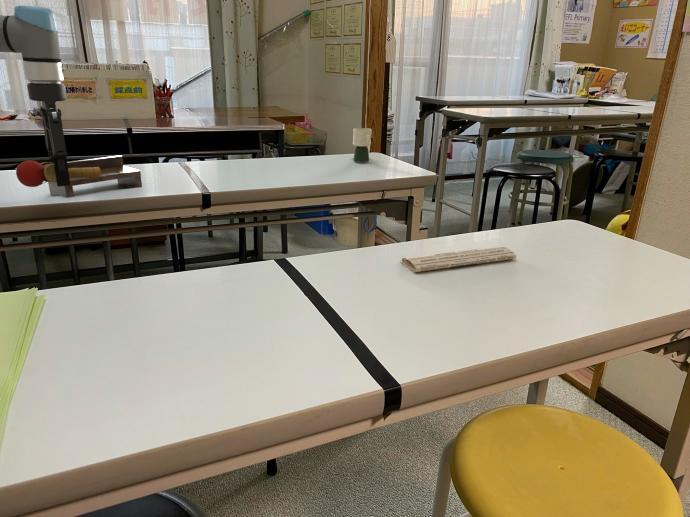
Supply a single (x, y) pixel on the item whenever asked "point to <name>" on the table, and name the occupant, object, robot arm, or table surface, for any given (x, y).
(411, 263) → the newspaper
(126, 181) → the shelf
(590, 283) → the table surface
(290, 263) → the table surface
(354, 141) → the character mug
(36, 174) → the kendama
